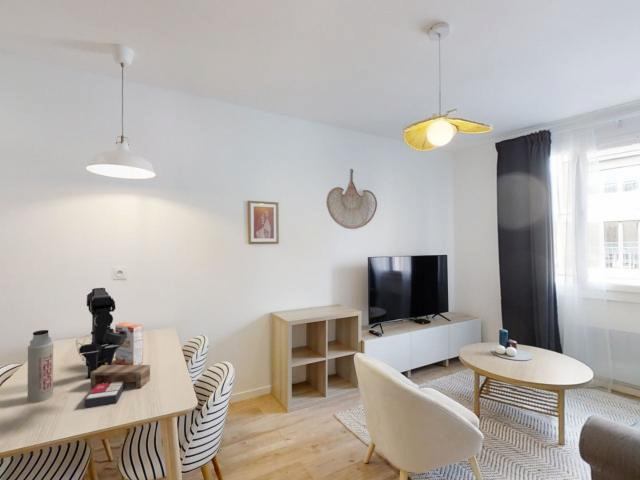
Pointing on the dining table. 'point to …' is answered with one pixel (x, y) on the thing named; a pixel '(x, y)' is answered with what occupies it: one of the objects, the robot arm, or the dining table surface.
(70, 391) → the dining table surface
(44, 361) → the thermos bottle
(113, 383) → the calculator
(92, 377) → the overhang shelf
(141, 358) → the cracker box
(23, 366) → the dining table surface
